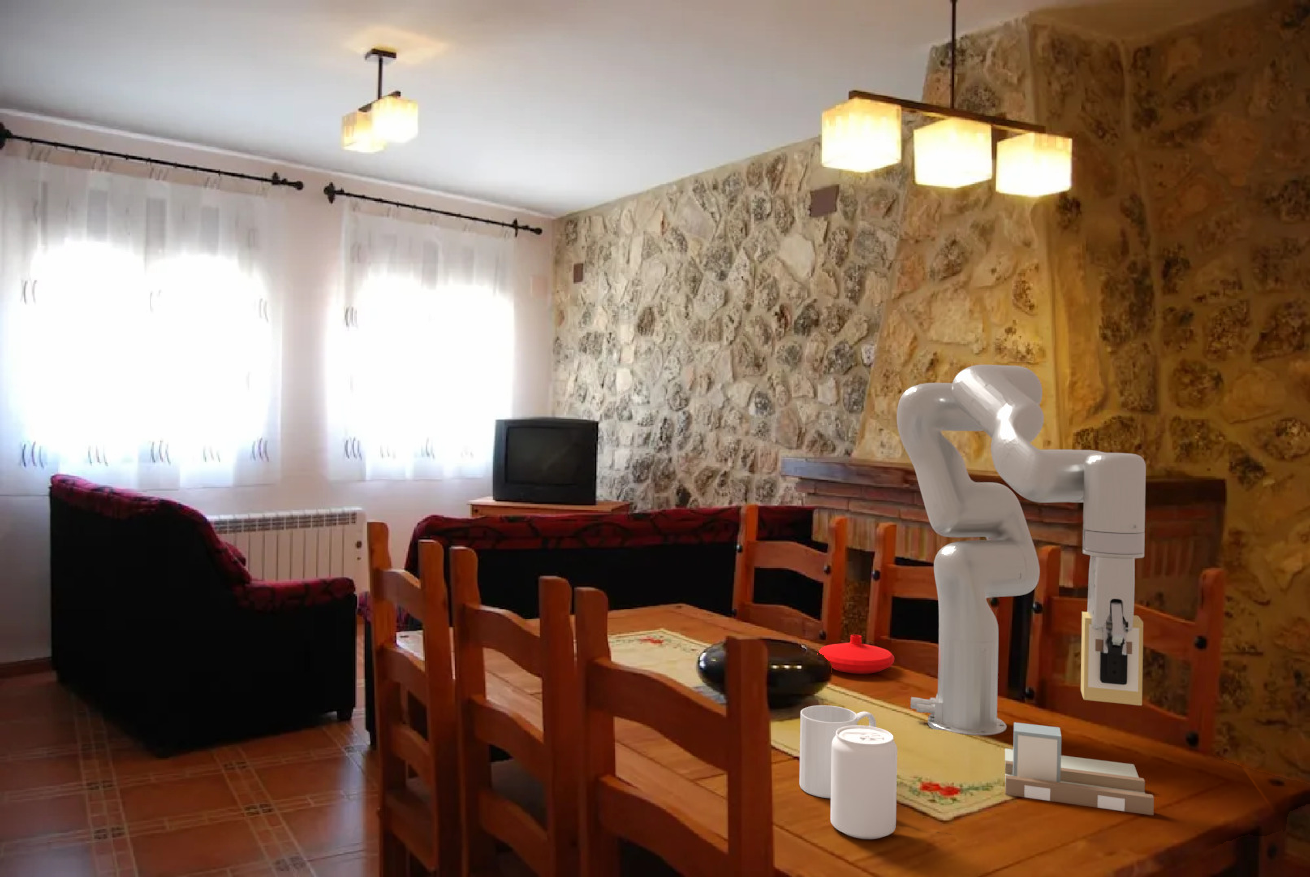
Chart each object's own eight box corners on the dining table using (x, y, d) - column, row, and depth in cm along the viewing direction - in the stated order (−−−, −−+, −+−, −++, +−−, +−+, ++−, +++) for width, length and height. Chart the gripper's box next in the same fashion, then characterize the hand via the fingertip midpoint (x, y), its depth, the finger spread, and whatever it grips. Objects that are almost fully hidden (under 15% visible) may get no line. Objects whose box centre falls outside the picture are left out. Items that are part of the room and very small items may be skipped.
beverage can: (823, 815, 123) (824, 724, 123) (883, 814, 124) (885, 723, 123) (840, 843, 115) (842, 746, 115) (905, 841, 116) (906, 745, 115)
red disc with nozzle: (903, 680, 188) (903, 645, 188) (824, 679, 188) (824, 644, 188) (884, 660, 203) (884, 628, 203) (811, 659, 204) (812, 627, 203)
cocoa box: (1013, 788, 130) (1014, 731, 130) (1012, 778, 134) (1013, 722, 134) (1060, 795, 128) (1061, 737, 128) (1058, 784, 132) (1059, 727, 132)
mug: (822, 803, 127) (823, 726, 127) (788, 782, 134) (789, 709, 134) (891, 788, 132) (893, 714, 132) (855, 769, 139) (856, 698, 139)
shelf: (1005, 801, 128) (1005, 778, 128) (1004, 754, 146) (1005, 734, 146) (1153, 823, 122) (1154, 798, 122) (1133, 771, 140) (1134, 749, 140)
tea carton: (1083, 700, 126) (1085, 618, 126) (1080, 690, 131) (1082, 611, 131) (1142, 706, 124) (1143, 622, 124) (1136, 696, 129) (1138, 615, 129)
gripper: (1078, 536, 137) (1075, 660, 137) (1088, 550, 121) (1085, 691, 121) (1135, 538, 134) (1133, 665, 134) (1153, 553, 118) (1151, 697, 118)
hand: (1110, 676), depth 127 cm, fingers closed on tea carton, 5 cm apart
